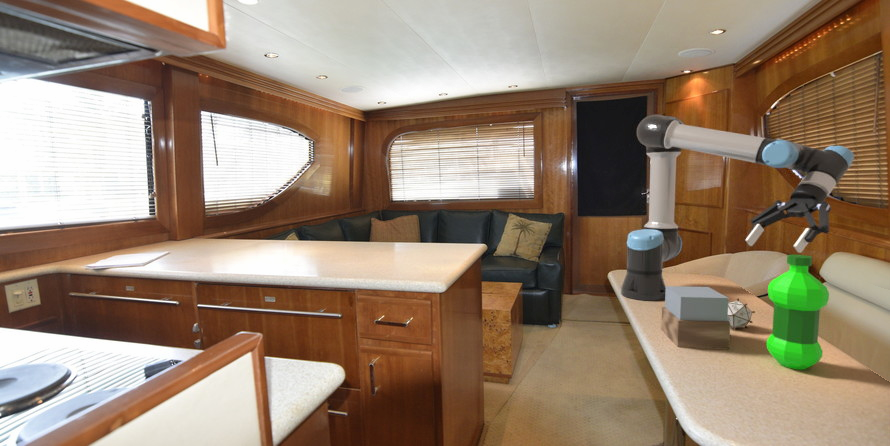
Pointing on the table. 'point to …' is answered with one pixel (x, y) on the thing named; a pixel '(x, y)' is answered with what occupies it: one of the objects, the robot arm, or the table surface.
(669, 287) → the tower top
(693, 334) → the tower base
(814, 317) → the plastic bottle
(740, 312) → the game die
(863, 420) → the table surface
